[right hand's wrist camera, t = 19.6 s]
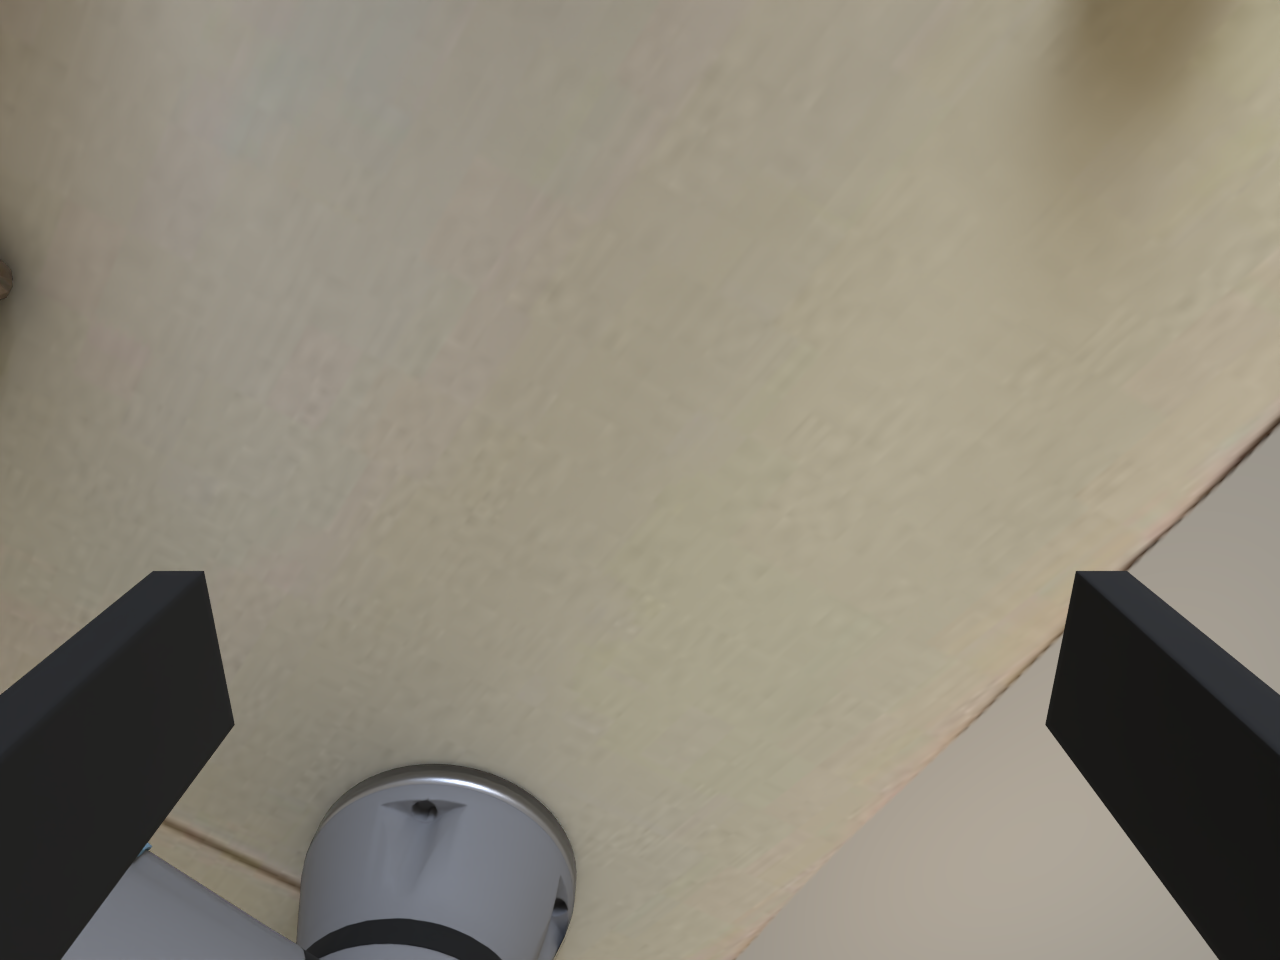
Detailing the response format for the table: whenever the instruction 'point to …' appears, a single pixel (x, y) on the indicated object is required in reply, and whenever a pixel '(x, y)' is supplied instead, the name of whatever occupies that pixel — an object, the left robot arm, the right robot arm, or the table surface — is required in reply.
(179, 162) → the table surface
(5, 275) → the stone
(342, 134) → the table surface
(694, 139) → the table surface
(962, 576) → the table surface
